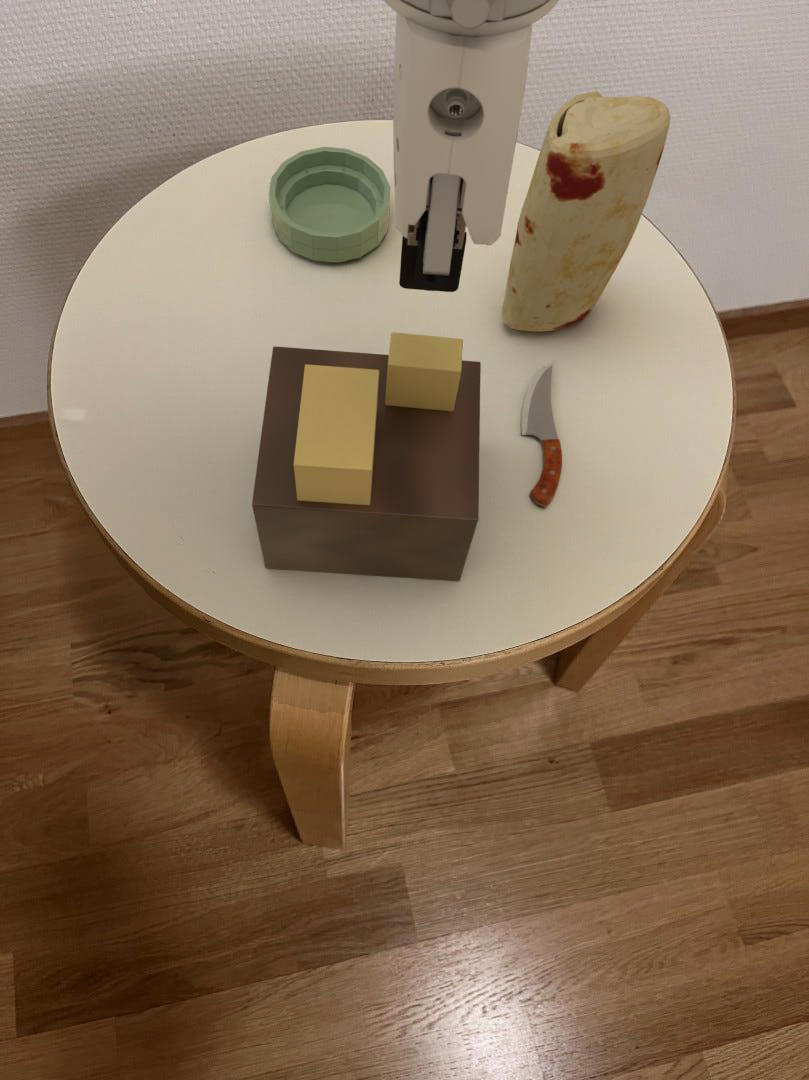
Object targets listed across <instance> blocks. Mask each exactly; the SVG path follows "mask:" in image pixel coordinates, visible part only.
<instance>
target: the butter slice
mask: <svg viewBox="0 0 809 1080" xmlns="http://www.w3.org/2000/svg"><path fill="white" fill-rule="evenodd" d="M463 347H464V340H463V338H456V337H447V336H446V337H445V336H437V335H436V336H435V335H423V334H415V333H404V332H395V331H392V332H391V333H390V338H389V349H388V355H389V358H388V369H387V384H386V398H385V405H389V406H400V407H410V408H421V409H431V410H442V411H453V410H454V406H455V401H456V396H457V390H458V385H459V380H460V375H461V367H462V360H463Z"/></svg>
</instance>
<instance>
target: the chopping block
mask: <svg viewBox="0 0 809 1080" xmlns="http://www.w3.org/2000/svg"><path fill="white" fill-rule="evenodd" d="M388 358H389V354H381V353H367V352H354V351H343V350H342V351H340V350H329V349H328V350H327V349H314V348H302V347H301V348H300V347H290V346H289V347H288V346H275V345H274V346H273V347H272V353H271V359H270V365H269V374H268V381H267V389H266V395H265V396H266V397H265V404H264V411H263V418H262V426H261V434H260V442H259V450H258V455H257V464H256V471H255V477H254V478H255V479H254V486H253V494H252V500H251V507H252V511H253V516H254V521H255V526H256V531H257V537H258V540H259V546H260V550H261V551H260V552H261V556H262V560H263V563H264V564H263V565H264V568H265V569H270V570H285V571H299V572H300V571H301V572H314V573H315V572H316V573H330V574H331V573H332V574H345V575H362V576H374V577H376V576H377V577H389V578H390V577H391V578H406V579H420V580H421V579H422V580H436V581H437V580H438V581H451V582H461V578H462V576H463V573H464V569H465V565H466V563H467V559H468V556H469V553H470V549H471V546H472V543H473V539H474V536H475V533H476V529H477V526H478V522H479V514H480V513H479V511H480V510H479V509H480V508H479V507H480V503H479V502H480V442H481V441H480V440H481V439H480V437H481V373H482V372H481V371H482V370H481V364H482V363H481V361H474V360H463V359H462V367H461V375H460V380H459V385H458V390H457V396H456V401H455V406H454V410H453V411H442V410H431V409H421V408H410V407H400V406H389V405H385V398H386V384H387V369H388ZM305 365H319V366H333V367H346V368H360V369H373V370H379V383H378V401H377V417H376V431H375V445H374V459H373V473H372V487H371V501H370V505H355V504H341V503H327V502H312V501H298V500H297V492H296V482H295V473H294V457H295V448H296V439H297V430H298V422H299V413H300V404H301V395H302V387H303V378H304V369H305Z"/></svg>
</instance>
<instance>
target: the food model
mask: <svg viewBox="0 0 809 1080" xmlns="http://www.w3.org/2000/svg"><path fill="white" fill-rule="evenodd" d="M670 124H671V115H670V110H669V108H668V106H667V105H666V104H665V103H664V102H662V101H661V100H659V99H656V98H653V97H650V96H640V95H636V96H624V97H623V96H622V97H620V96H603V95H602V94H601V93H600V92H598V90H594V91H590V92H586V93H582V94H577V95H575V96H573V97H572V98H570V99H569V100H568V101H566V102H565V103H564V104H563V105H562V106H561V107H560V108H559V109H558V110H557V111H556V113H555V114H554V115H553V116H552V118H551V120H550V122H549V125H548V128H547V130H546V133H545V136H544V139H543V142H542V145H541V148H540V150H539V154H538V157H537V160H536V163H535V167H534V170H533V173H532V177H531V180H530V184H529V187H528V191H527V193H526V196H525V199H524V201H523V205H522V207H521V211H520V214H519V216H518V217H519V218H518V220H517V225H516V231H515V238H514V243H513V248H512V252H511V257H510V263H509V269H508V275H507V281H506V286H505V287H506V288H505V293H504V298H503V303H502V310H501V316H502V320H503V322H504V324H505V325H506V326H507V327H509V328H511V329H513V330H517V331H524V332H549V331H550V332H552V331H557V330H561V329H563V328H567V327H570V326H573V325H575V324H578V323H580V322H582V321H583V320H584V319H585V318H587V316H588V315H589V314H590V313H591V311H592V309H593V308H594V306H595V305H596V303H597V302H598V300H599V299H600V297H601V296H602V294H603V292H604V291H605V289H606V288H607V286H608V283H609V282H610V280H611V278H612V276H613V275H614V274H615V271H616V269H617V268H618V266H619V264H620V263H621V261H622V259H623V257H624V255H625V253H626V251H627V249H628V248H629V245H630V243H631V241H632V238H633V236H634V234H635V232H636V230H637V228H638V225H639V222H640V219H641V217H642V215H643V212H644V209H645V206H646V205H647V201H648V199H649V196H650V193H651V189H652V187H653V183H654V180H655V178H656V175H657V171H658V169H659V165H660V162H661V159H662V155H663V153H664V149H665V145H666V141H667V138H668V132H669V129H670Z"/></svg>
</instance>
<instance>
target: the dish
mask: <svg viewBox="0 0 809 1080" xmlns="http://www.w3.org/2000/svg"><path fill="white" fill-rule="evenodd" d="M268 199H269V209H270V219H271V220H270V221H271V224H272V226H273V229H274V232H275V234H276V236H277V239H279V240H280V241H281V242H282V243H283V244H284V245H285V246H286V247H287V248H288V249H289V250H290V251H291V252H293V253H295V254H296V255H299V256H302V257H304V258H306V259H309V260H311V261H314V262H325V263H342V262H347V261H350V260H356V259H359V258H362V257H363V256H364V255H367V253H369V252H370V251H372V250H373V249H376V248H377V247H378V246H379V245H380V243H381V242H382V240H383V239H384V237H385V236H386V234H387V233H388V230H389V219H390V202H391V185H390V183H389V181H388V179H387V176H386V175H385V172H384V170H383V169H382V168H381V167H379V165H377V164H376V163H375V162H374V161H373V160H371V158H370V157H368V156H366V155H363V154H361V153H359V152H356V151H354V150H351V149H348V148H343V147H333V146H332V147H331V146H320V147H315V148H312V149H311V148H310V149H306V150H302V151H299V152H297V153H296V154H294V155H292V156H291V157H289V158H287V159H286V160H283V161H282V162H281V164H280V165H279V167H278V168H277V169H276V171H275V172H274V173H273V175H272V176H271V179H270V185H269V192H268Z"/></svg>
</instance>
